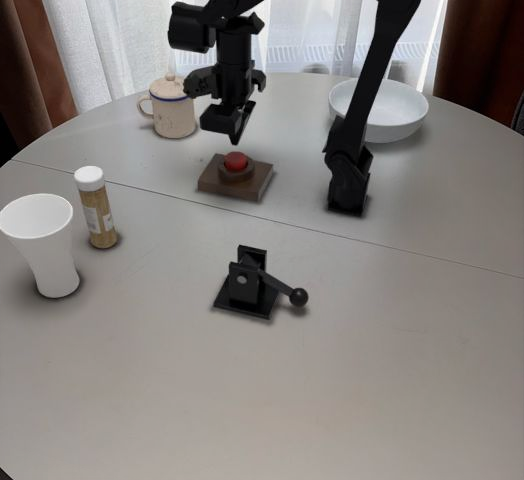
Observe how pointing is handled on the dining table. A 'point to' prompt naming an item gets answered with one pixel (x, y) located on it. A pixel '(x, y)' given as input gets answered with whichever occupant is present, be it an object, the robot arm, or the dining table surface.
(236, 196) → the switch block
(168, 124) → the teacup with lid
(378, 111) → the serving bowl
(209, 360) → the dining table surface
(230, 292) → the bracket
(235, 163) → the button
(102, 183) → the sprinkles bottle
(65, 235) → the cup
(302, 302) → the lever
